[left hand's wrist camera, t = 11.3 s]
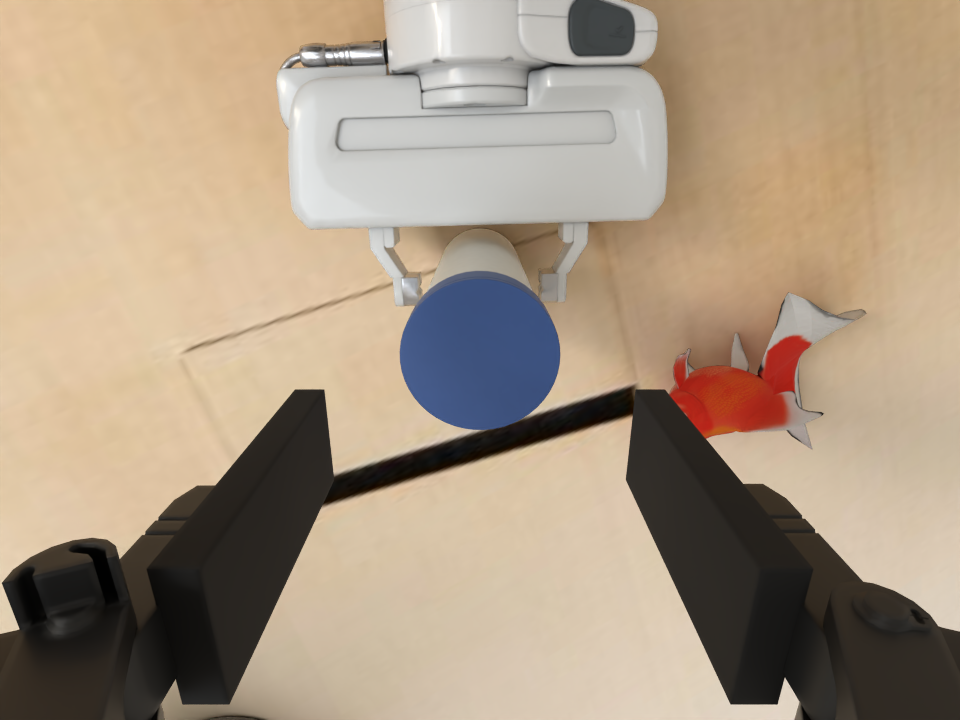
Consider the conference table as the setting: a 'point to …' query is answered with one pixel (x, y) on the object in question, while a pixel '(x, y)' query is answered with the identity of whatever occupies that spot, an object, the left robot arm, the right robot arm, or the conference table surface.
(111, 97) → the conference table surface
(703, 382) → the fish
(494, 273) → the lid
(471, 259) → the jar
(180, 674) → the left robot arm
